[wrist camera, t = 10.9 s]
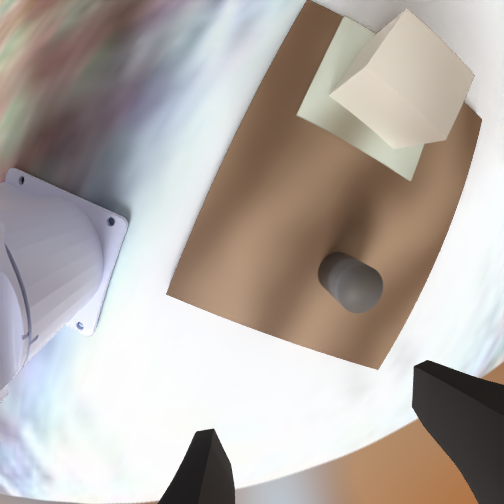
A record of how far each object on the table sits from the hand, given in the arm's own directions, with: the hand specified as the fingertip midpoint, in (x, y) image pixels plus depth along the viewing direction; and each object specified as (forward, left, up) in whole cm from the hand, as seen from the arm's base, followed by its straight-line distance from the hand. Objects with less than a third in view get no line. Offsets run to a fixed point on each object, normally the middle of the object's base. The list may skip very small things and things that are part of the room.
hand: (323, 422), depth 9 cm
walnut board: (+1, +9, -10) cm, 13 cm away
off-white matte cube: (0, +15, -9) cm, 17 cm away
